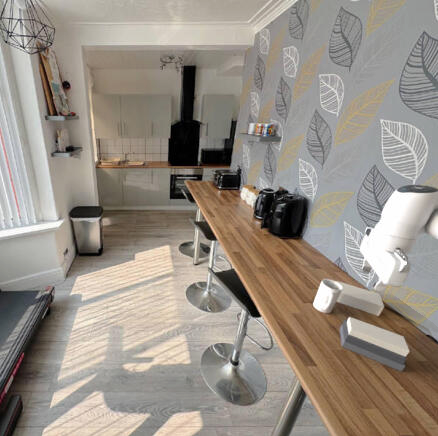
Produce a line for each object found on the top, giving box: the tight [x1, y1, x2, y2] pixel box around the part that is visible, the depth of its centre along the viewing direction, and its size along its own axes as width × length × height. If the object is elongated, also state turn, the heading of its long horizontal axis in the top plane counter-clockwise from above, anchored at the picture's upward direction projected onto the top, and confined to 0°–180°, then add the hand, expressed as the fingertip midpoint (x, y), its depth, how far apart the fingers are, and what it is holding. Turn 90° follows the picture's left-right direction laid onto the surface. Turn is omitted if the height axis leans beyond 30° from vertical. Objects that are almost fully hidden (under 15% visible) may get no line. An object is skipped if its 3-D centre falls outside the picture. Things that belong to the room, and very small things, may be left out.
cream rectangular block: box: [346, 316, 410, 358], centre depth 77 cm, size 14×6×2 cm, turn 57°
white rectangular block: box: [336, 280, 385, 317], centre depth 100 cm, size 15×9×5 cm, turn 57°
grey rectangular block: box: [339, 319, 407, 372], centre depth 79 cm, size 15×9×5 cm, turn 57°
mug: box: [312, 278, 343, 314], centre depth 93 cm, size 10×7×12 cm, turn 148°
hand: (370, 280), depth 73 cm, fingers open, 8 cm apart
